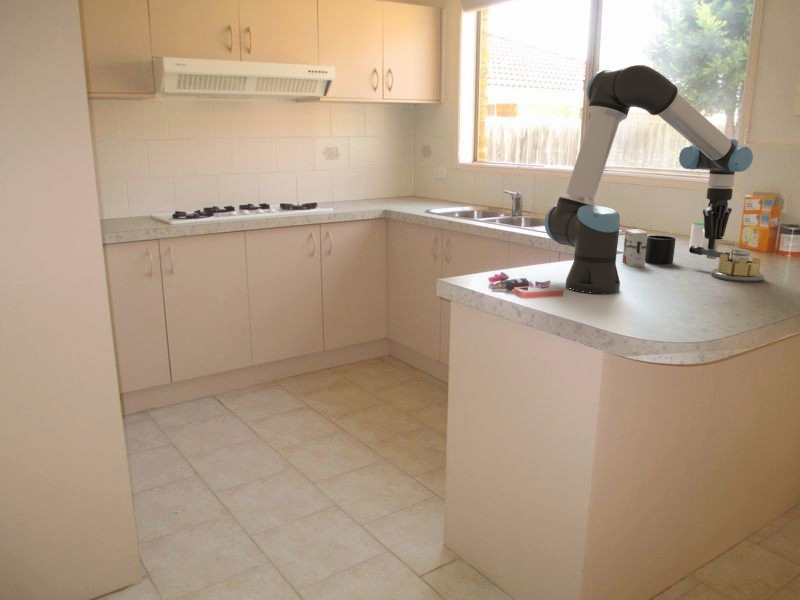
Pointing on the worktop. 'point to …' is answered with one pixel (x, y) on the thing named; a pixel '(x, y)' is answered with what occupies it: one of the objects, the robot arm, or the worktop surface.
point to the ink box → (635, 247)
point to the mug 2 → (698, 236)
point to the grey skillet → (727, 265)
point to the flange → (737, 278)
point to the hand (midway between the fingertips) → (711, 258)
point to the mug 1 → (660, 250)
